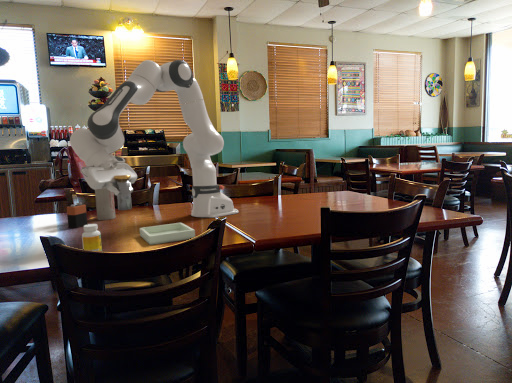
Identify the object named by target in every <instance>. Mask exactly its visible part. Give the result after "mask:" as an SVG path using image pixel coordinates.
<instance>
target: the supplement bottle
mask: <svg viewBox="0 0 512 383" xmlns="http://www.w3.org/2000/svg"><path fill="white" fill-rule="evenodd" d="M82 227H83V233H81V240H82V250H83V249H84V250H92V251H102V252H103V247H102V234H101V231H100V230H98V223H87V225H84V226H82Z"/></svg>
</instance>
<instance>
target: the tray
mask: <svg viewBox="0 0 512 383" xmlns="http://www.w3.org/2000/svg"><path fill="white" fill-rule="evenodd" d="M139 236H140V237H141V238H142V239H143V240H144V242H146V243H147V244H148V245H149V246H153V245H159V244H160V245H161V244H166V243H172V242H178V241H185V240H191V239H190V238H193V237H195V238H196V230H195V229H194V228H192V227H190V226H189V225H187V224H185V223H183V222H176V223H175V222H173V223H169V224H168V223H167V224H159V225H152V226H146V227H145V226H143V227H139ZM193 239H194V238H193Z"/></svg>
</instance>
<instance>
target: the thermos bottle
mask: <svg viewBox="0 0 512 383" xmlns="http://www.w3.org/2000/svg"><path fill="white" fill-rule="evenodd" d="M94 196H95V207H96V208H95V209H96V218H97V220H99V221H101V220H102V221H107V220H108V221H109V220H113V219H115V218H116V208H115V206H116V205H115V194H114V193H113V192H111V191H109V190H108V189H107V188H102V189H96V190H94Z"/></svg>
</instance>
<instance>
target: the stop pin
mask: <svg viewBox="0 0 512 383" xmlns="http://www.w3.org/2000/svg"><path fill="white" fill-rule="evenodd" d="M129 178H131V175H117V176H114V179H116V186H115V188H119V189H120V191H121V193H120V195H116V199H117V210H118V211H129V210H132V208H133V206H132V197H131V196H132V195H131V194H132V192H130V180H129Z"/></svg>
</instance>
